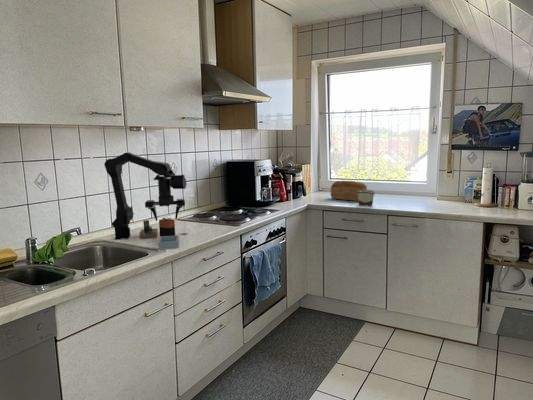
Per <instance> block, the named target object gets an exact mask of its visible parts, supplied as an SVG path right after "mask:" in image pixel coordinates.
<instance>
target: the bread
mask: <svg viewBox="0 0 533 400" xmlns="http://www.w3.org/2000/svg"><path fill="white" fill-rule="evenodd" d="M360 190H368V187H367V185H366V184H365V183H363V182H361V181H356V180H355V181H354V180H337V181H335V182H333V183H332V185H331V186H330V197H331V199H334V200H345V201H354V202H358V194H357V192H358V191H360Z"/></svg>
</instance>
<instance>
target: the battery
mask: <svg viewBox="0 0 533 400" xmlns="http://www.w3.org/2000/svg"><path fill="white" fill-rule="evenodd" d="M175 222H176V220H175V219H172V218H171V217H167V218H166V217H163V218H162V219H159V220H158V226H159V228H158V229H159V237H160V236H176V227H175V226H176V225H175V224H176V223H175Z"/></svg>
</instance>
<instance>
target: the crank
mask: <svg viewBox="0 0 533 400" xmlns="http://www.w3.org/2000/svg"><path fill="white" fill-rule="evenodd" d="M143 229H144V231H145V232H144V234H143V237H147V236H148V234H149V232H150V231H151V230H152V229H153V226H151V225H150V220H148V219H145V220H143Z"/></svg>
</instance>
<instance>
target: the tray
mask: <svg viewBox="0 0 533 400" xmlns="http://www.w3.org/2000/svg"><path fill="white" fill-rule="evenodd" d="M179 243H180V236H179V234H177V235H176V234H175V236H160V235H159V239H158V242H157V244H158V245H157V246H158V247H157V248H158V250H167V249H178V248H179V246H180V245H179Z"/></svg>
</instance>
